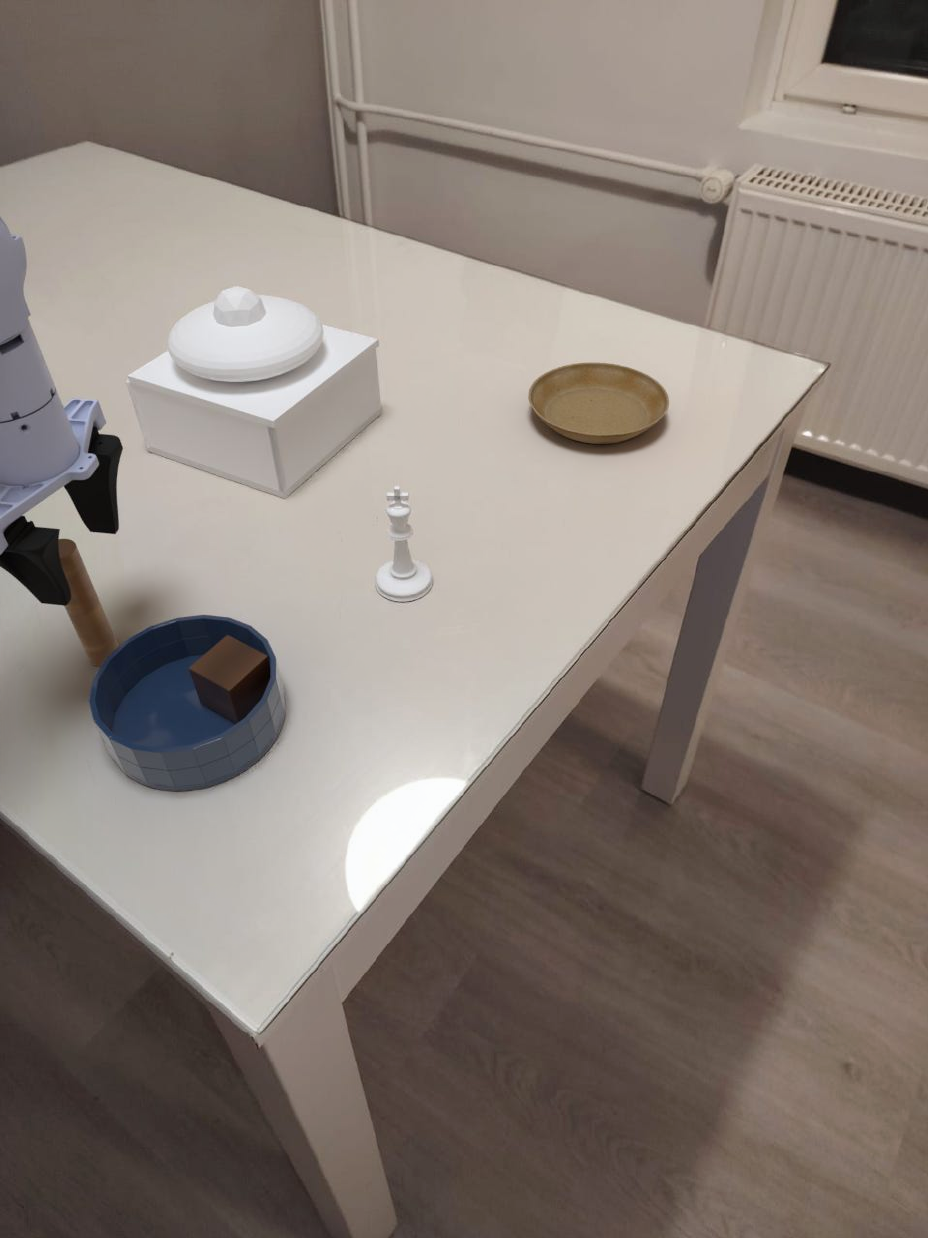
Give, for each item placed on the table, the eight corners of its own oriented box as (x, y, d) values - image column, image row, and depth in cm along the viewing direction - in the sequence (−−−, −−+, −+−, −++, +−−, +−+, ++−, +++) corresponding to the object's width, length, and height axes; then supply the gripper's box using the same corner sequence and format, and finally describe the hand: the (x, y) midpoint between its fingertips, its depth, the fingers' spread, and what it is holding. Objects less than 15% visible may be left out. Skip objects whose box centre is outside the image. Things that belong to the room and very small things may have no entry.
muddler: (93, 670, 68) (44, 564, 60) (85, 651, 69) (37, 545, 62) (123, 658, 69) (79, 552, 61) (115, 640, 70) (71, 534, 62)
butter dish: (253, 376, 100) (226, 235, 89) (385, 414, 94) (373, 269, 83) (147, 452, 89) (100, 302, 78) (288, 501, 83) (259, 346, 72)
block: (200, 704, 64) (187, 668, 62) (237, 670, 67) (227, 634, 64) (239, 726, 63) (228, 690, 60) (276, 691, 65) (267, 655, 62)
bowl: (77, 779, 61) (55, 739, 57) (152, 647, 70) (137, 607, 66) (252, 802, 59) (240, 763, 56) (306, 665, 68) (298, 624, 65)
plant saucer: (581, 472, 86) (583, 449, 84) (501, 405, 95) (501, 384, 93) (694, 429, 91) (698, 408, 90) (608, 370, 101) (611, 349, 99)
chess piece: (431, 602, 73) (426, 507, 66) (373, 601, 73) (362, 506, 66) (434, 563, 76) (429, 469, 69) (378, 563, 77) (368, 469, 70)
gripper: (5, 473, 47) (87, 642, 57) (119, 344, 57) (172, 506, 67) (-112, 463, 48) (-12, 631, 58) (21, 337, 58) (87, 498, 68)
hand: (81, 564), depth 63 cm, fingers open, 7 cm apart
